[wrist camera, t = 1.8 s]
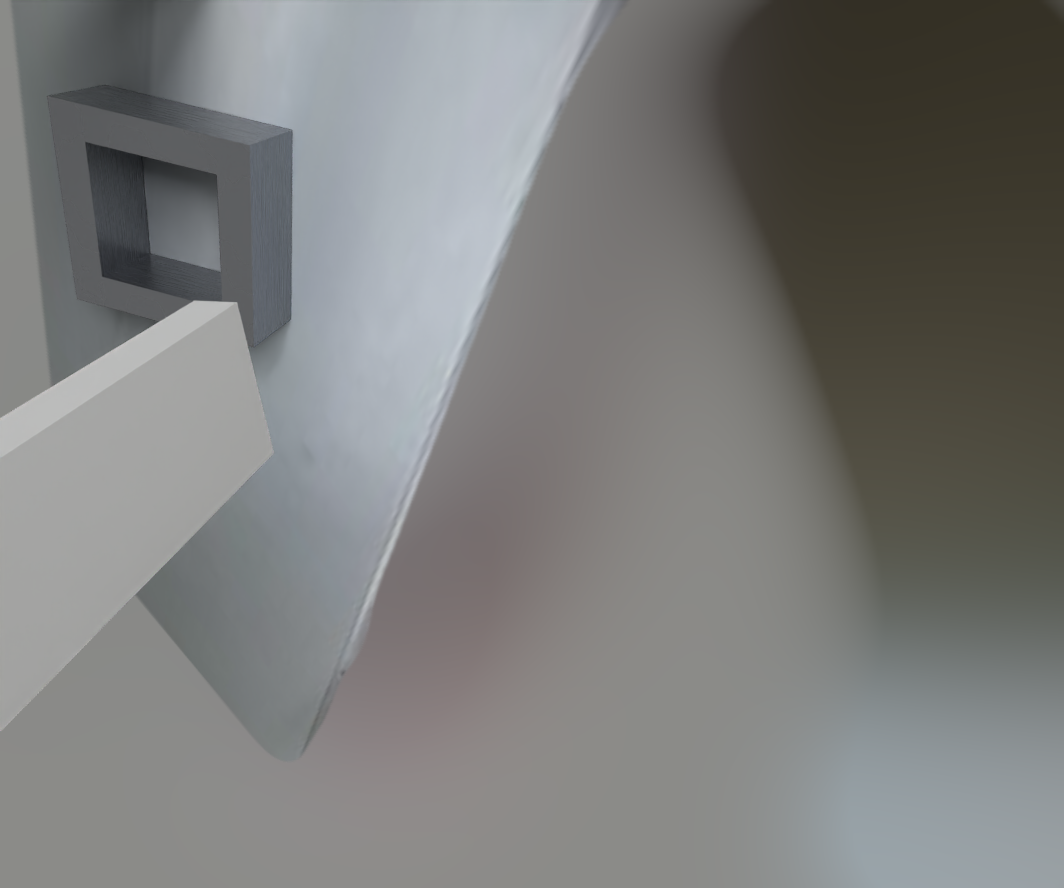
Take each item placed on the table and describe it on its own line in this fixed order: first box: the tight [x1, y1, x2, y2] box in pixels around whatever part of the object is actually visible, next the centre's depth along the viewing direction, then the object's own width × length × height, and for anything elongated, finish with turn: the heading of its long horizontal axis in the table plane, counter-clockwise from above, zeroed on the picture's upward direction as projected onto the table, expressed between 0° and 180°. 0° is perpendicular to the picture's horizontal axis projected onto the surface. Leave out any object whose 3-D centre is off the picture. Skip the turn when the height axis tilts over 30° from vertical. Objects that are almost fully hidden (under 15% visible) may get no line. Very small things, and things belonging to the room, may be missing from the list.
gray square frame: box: [47, 85, 292, 347], centre depth 37 cm, size 9×9×4 cm
